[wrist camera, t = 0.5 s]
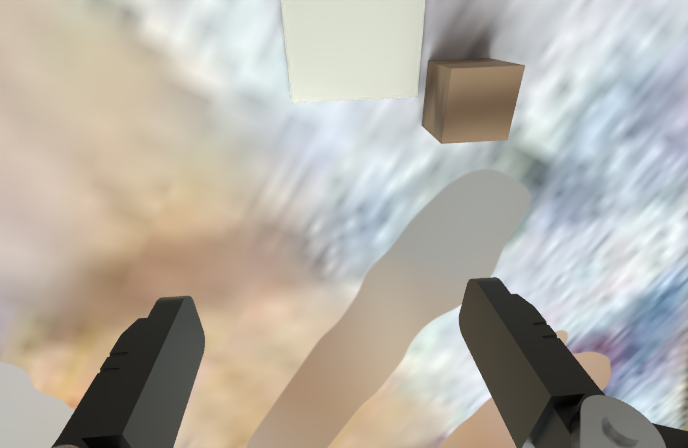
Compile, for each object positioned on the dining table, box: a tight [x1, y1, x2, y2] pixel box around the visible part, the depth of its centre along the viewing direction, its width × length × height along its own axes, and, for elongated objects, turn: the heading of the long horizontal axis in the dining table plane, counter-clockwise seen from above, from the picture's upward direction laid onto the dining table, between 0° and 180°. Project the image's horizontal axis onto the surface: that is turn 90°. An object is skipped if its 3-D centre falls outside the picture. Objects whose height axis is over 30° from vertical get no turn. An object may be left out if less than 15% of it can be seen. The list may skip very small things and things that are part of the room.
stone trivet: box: [281, 0, 426, 103], centre depth 28 cm, size 12×12×1 cm
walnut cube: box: [422, 59, 525, 144], centre depth 30 cm, size 6×6×6 cm
